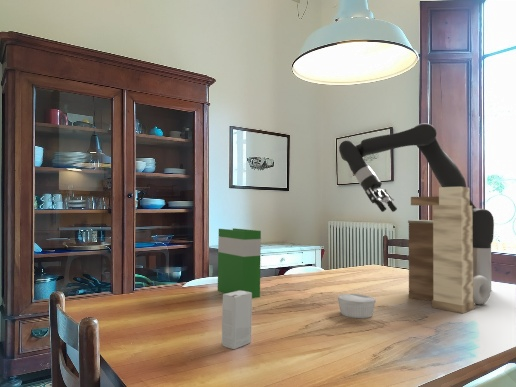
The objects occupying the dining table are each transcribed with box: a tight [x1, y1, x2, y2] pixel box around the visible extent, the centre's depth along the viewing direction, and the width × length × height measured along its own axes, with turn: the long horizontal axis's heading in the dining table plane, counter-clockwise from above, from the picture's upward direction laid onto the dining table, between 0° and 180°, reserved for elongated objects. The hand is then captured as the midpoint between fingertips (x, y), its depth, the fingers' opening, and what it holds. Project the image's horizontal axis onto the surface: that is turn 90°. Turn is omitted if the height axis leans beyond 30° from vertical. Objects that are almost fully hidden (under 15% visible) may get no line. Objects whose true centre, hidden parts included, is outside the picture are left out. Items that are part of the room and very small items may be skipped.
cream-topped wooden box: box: [407, 219, 433, 301], centre depth 146 cm, size 12×13×28 cm
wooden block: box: [431, 205, 476, 314], centre depth 130 cm, size 10×10×34 cm
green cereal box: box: [217, 227, 262, 299], centre depth 147 cm, size 18×7×24 cm, turn 36°
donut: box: [473, 275, 491, 306], centre depth 135 cm, size 10×3×10 cm, turn 119°
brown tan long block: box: [410, 186, 471, 206], centre depth 135 cm, size 7×18×6 cm, turn 41°
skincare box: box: [221, 290, 253, 350], centre depth 92 cm, size 6×4×12 cm
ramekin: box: [337, 293, 376, 319], centre depth 120 cm, size 11×11×5 cm
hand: (389, 210), depth 157 cm, fingers open, 8 cm apart
